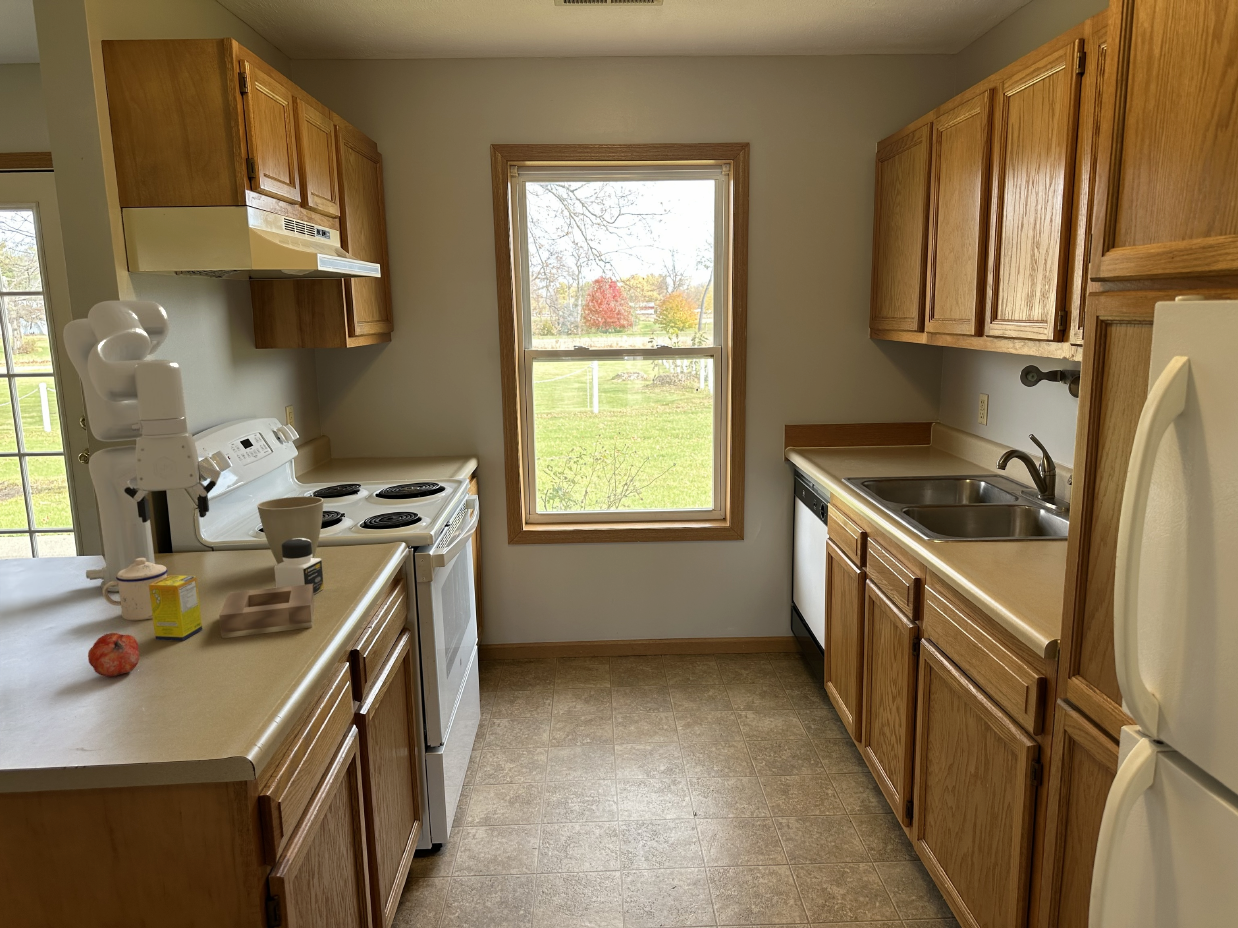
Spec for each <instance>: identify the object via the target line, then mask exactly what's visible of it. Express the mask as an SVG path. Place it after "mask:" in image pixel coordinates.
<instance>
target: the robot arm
mask: <svg viewBox="0 0 1238 928" xmlns="http://www.w3.org/2000/svg"><path fill="white" fill-rule="evenodd" d="M169 331H170V320H169V317H168V314H167V312H166V310H165V309H164V307H163V306H161V304H159V303H157V302H156V301H152V300H106V301H100V302H98V303H96V304H94V305H93V306H92V307H91V309H89V311H88V314H87V318H77V319H75V320H72V321H71V320H70V321H69V322H68V323H67V324H65V325H64V327H63V332H62V333H63V334H62V335H63V343H64V347H65V350H66V354H67V356H68V358H69V360H70V362H71V364H72V365H73V366H74V368H75V370H76V372H77V374H78V376H79V379H80V380H81V383H82V388H83V395H84V399H85V408H86V412H87V413H86V414H87V418H88V423H89V428H90V431H91V434H92V436H93V437H94V438H95V439H96V440H98V441H102V442H119V441H130V440H136V441H135V442H136V443H135V444H136V445H123V446H113V447H107V448H103V449H101V450H98V451H96V452H94V453H93V454H92V455H91V456H90V457H89V461H88V470H89V475H90V477H91V481H92V484H93V488H94V492H95V495H96V499H97V504H98V511H99V518H100V519H99V520H100V525H101V533H102V543H103V550H104V551H103V552H104V558H105V564H106V566H104V567H102V568H101V569H87V570H86V571H85V577H86V579H89V581H93V580H100V579H101V580H102V581H101V582H100V588H101V590H103V588H104V586H105V585H107V584H108V583H110V582H114V581H118V580H117V579H116V577H117V574H118V573H119V572H120V571H122V570H124V569H127V568H128V567H129V566H131V565H132V564H135V560H136V559H138V558H145V559H146V562H151V563H154V564H156V561H155V553H154V544H153V543H154V542H153V537H152V527H151V521H150V520H151V510H150V503H149V502H150V501H149V499H148V498H147V495H148V493H150V492H159V491H173V490H175V491H176V490H183V489H191V488H192V489H193V490H194V491H195V492H196V493H197V494H198V496H197V498H196V499H197V508H198V517H199V518H205V517H206V516H207V513H209V512H210V504H209V503H210V502H209V496H208V495H209V493H210V492H211V491H212V490H213V489H214V488H215V486H216V485H217V483H218V482H219V479H220V477H221V475H222V471H221V470H220V469H217V468H214V467H212V466H209V465H206V464H204V463H200V459H199V455H198V450H197V446H196V443H195V439H194V437H193V434H192V433H189V430H188V423H187V415H186V406H185V405H186V404H185V397H184V388H183V379H182V371H181V367H180V365H179V363H177V362H176V361H173V360H169V359H146V358H147V357H148V356H151V355H153V354H155V353H156V352H157V351H158V349H160V347H161V346H162V344H163V343H164V342H165V340H167V338H168V335H169ZM202 473H203V474H207V475H209V476H210V479H209V482H208V483H207V484H206V485H205V484H204V483H202ZM137 488H138V489H137ZM107 591H108V592H119V585H114V586H110V587H108V590H107Z"/></svg>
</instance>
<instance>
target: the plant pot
mask: <svg viewBox="0 0 1238 928" xmlns="http://www.w3.org/2000/svg"><path fill="white" fill-rule="evenodd" d="M256 506H257V507H256V508H257V510H258V511H257V512H258V514H259V519H260V522H261V527H262V530H263V533H264V536H265V539H266V541H267V545H268V546H269V548H270V551H271V553H272V555H273V557H274V559H275V562H276V563H277V564H276V565H278V564H280V563H282V562H284V561H283V556H282V544H283V543H284V542H285V541H287V540H290V539H296V538H305V539H308V540H310V541H311V544H312V556H313V557H312V558H315V555H316V552H317V548H318V544H319V540H320V535H321V530H322V529H321V528H322V523H323V515H324V514H323V512H324V499H323V498H322V497H318V496H317V497H316V496H306V495H305V496H304V495H303V496H288V497H279V498H275V499H268V500H265V501H262V502H259V503H257V504H256Z"/></svg>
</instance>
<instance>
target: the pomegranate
mask: <svg viewBox="0 0 1238 928" xmlns="http://www.w3.org/2000/svg"><path fill="white" fill-rule="evenodd" d="M138 643H139V642H138V641H137V639H136V638H135V637H134V636H132V635H131V634H130V635H129V634H123V633H122V634H121V633H118V632H109V633H105V634H103V635H101V636H100V637H98V638H97V640H96V641H95V642H94V643H93V645H92V646H91V647H90V648H89V649H88V653H87V657H88V659H87V660H88V663H89V665H90V666H91V667H92V668H93V670H94V672H95V673H96V674H97V675H100V676H103V677H108V678H111V677H115V676H119V675H122V674H123V675H124V674H127V673H130V672H132V671H133V670H134V669H135V668H136V667H137V666H138V663H139V661H140V651H139V645H138Z"/></svg>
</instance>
